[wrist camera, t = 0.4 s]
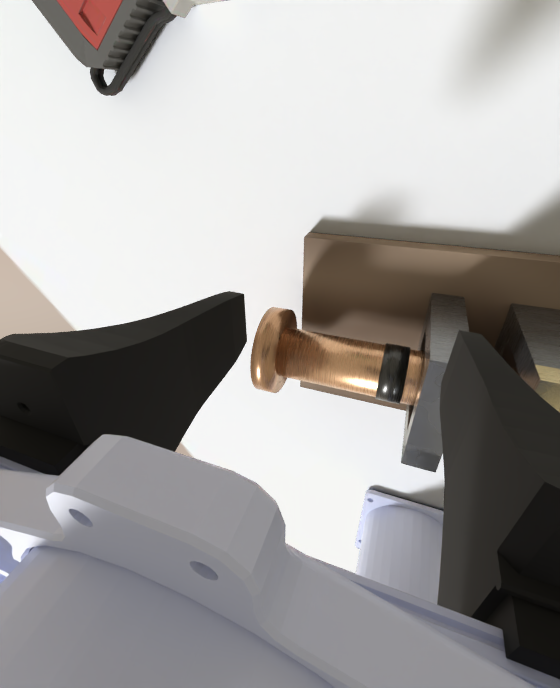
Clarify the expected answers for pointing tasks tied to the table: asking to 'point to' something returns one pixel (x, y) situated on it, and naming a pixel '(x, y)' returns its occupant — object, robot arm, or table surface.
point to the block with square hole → (512, 345)
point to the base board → (414, 289)
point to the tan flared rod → (333, 361)
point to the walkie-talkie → (111, 32)
